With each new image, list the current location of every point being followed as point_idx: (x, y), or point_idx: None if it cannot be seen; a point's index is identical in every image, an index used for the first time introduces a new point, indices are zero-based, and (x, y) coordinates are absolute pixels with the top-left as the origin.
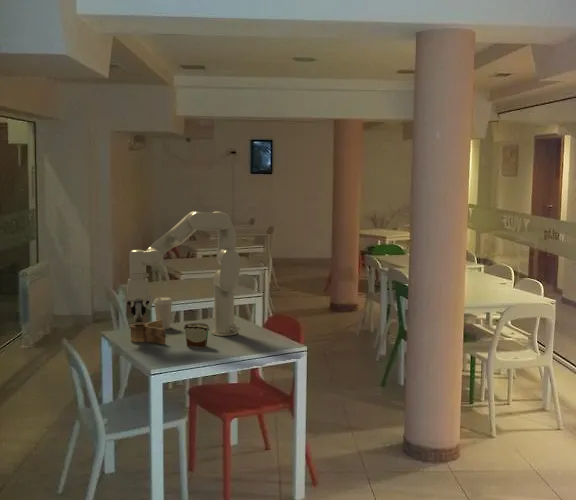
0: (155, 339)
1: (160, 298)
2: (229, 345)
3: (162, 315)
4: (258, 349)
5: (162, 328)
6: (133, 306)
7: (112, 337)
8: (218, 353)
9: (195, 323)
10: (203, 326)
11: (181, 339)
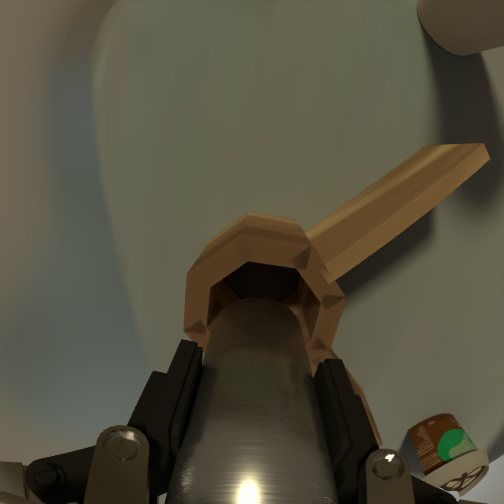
0: None
1: None
2: (491, 422)
3: (494, 29)
4: (495, 449)
5: (444, 46)
6: (165, 482)
7: (112, 135)
8: (422, 479)
9: (477, 466)
10: (472, 476)
11: (455, 329)
